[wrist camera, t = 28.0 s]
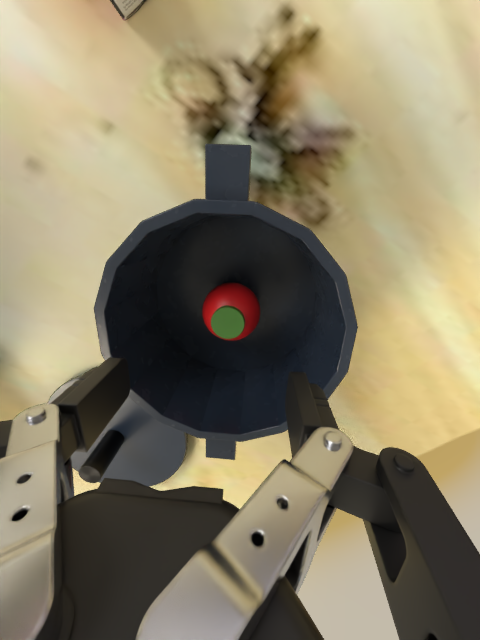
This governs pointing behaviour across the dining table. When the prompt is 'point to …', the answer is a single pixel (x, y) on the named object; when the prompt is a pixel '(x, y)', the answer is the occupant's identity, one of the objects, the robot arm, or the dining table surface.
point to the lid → (130, 447)
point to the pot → (187, 301)
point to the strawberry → (231, 311)
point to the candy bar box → (127, 7)
